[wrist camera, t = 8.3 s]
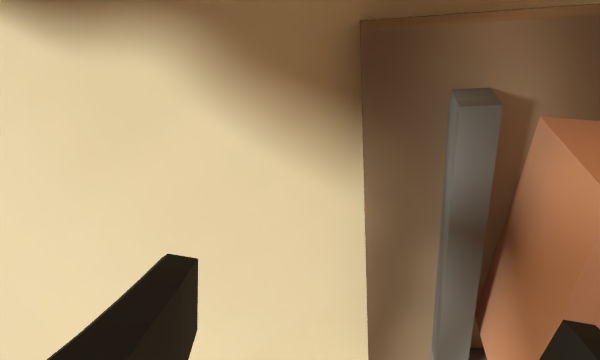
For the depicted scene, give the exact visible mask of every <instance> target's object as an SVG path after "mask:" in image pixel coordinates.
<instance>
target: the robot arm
mask: <svg viewBox="0 0 600 360" xmlns="http://www.w3.org/2000/svg"><path fill="white" fill-rule="evenodd" d="M197 304H198V259H197V258H191V257H185V256H179V255H173V254H167V255H165V256H164V257H162V258H161V259H160V260H159V261H158V262H157V263H156V264H155V265H154V266H153V267H152V268H151V269H150V270H149V271H148V272H147V273H146V274H145V275H144V276H143V277H142V278H141V279H139V280H138V281H137V282H136V283H135V284H134V285H133V286H132V287H131V288H130V289H129V290H128V291H127V292H126V293H124V294H123V295H122V296H121V297H120V298H119V299H118V300H117V301H116V302H115V303H114V304H112V305H111V306H110V307H109V308H108V309H107V310H106V311H104V312H103V313H102V314H101V315H100V316H99V317H98V318H96V319H95V320H94V321H93V322H92V323H91V324H90V325H88V326H87V327H86V328H85V329H84V330H83V331H82V332H80V333H79V334H78V335H77V336H76V337H74V338H73V339H72V340H71V341H69V342H68V343H67V344H66V345H64V346H63V347H62V348H61V349H59V350H58V351H57V352H56V353H54V354H53V355H52V356H51V357H49V358H48V359H47V360H188V359H189V355H190V352H191V349H192V345H193V342H194V339H195V335H196V332H197ZM539 360H600V329H599V328H598V327H597V326H596V325H593V324H587V323H581V322H575V321H569V320H563V321H562V322H561V324H560V326H559V327H558V329H557V331H556V332H555V334H554V336H553V337H552V339H551V341H550V342H549V344H548V346H547V347H546V349H545V351H544V352H543V354H542V356H541V357H540V359H539Z"/></svg>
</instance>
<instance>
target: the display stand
mask: <svg viewBox="0 0 600 360" xmlns="http://www.w3.org/2000/svg"><path fill="white" fill-rule="evenodd" d="M360 36H361V76H362V116H363V156H364V196H365V236H366V276H367V316H368V356H369V360H487V357H486V354H485V350H484V347H483V343H482V340H481V337H480V333H479V330H478V326H477V323H476V319H475V316H474V315H475V311H476V308H477V305H478V302H479V299H480V296H481V293H482V290H483V287H484V284H485V281H486V278H487V275H488V272H489V269H490V266H491V263H492V260H493V257H494V254H495V251H496V248H497V245H498V242H499V239H500V236H501V233H502V230H503V227H504V224H505V221H506V218H507V215H508V212H509V209H510V206H511V203H512V200H513V197H514V194H515V191H516V188H517V185H518V182H519V179H520V176H521V173H522V170H523V167H524V164H525V160H526V157H527V154H528V151H529V148H530V145H531V142H532V139H533V136H534V133H535V130H536V127H537V124H538V121H539V118H540V117H553V118H566V119H579V120H592V121H600V4H589V5H575V6H561V7H547V8H533V9H519V10H505V11H492V12H478V13H464V14H450V15H436V16H422V17H408V18H394V19H380V20H366V21H360Z"/></svg>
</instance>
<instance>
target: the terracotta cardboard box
mask: <svg viewBox="0 0 600 360" xmlns="http://www.w3.org/2000/svg"><path fill="white" fill-rule="evenodd" d="M474 316H475V319H476V323H477V326H478V330H479V333H480V337H481V340H482V343H483V347H484V350H485V354H486V357H487V360H539V359H540V357H541V356H542V354H543V352H544V351H545V349H546V347H547V346H548V344H549V342H550V341H551V339H552V337H553V336H554V334H555V332H556V331H557V329H558V327H559V326H560V324H561V322H562V321H563V320H569V321H575V322H581V323H587V324H593V325H596V326H597V327H598V328H599V329H600V121H592V120H579V119H566V118H553V117H540V118H539V121H538V124H537V127H536V130H535V133H534V136H533V139H532V142H531V145H530V148H529V151H528V154H527V157H526V160H525V164H524V167H523V170H522V173H521V176H520V179H519V182H518V185H517V188H516V191H515V194H514V197H513V200H512V203H511V206H510V209H509V212H508V215H507V218H506V221H505V224H504V227H503V230H502V233H501V236H500V239H499V242H498V245H497V248H496V251H495V254H494V257H493V260H492V263H491V266H490V269H489V272H488V275H487V278H486V281H485V284H484V287H483V290H482V293H481V296H480V299H479V302H478V305H477V308H476V311H475V315H474Z"/></svg>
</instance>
